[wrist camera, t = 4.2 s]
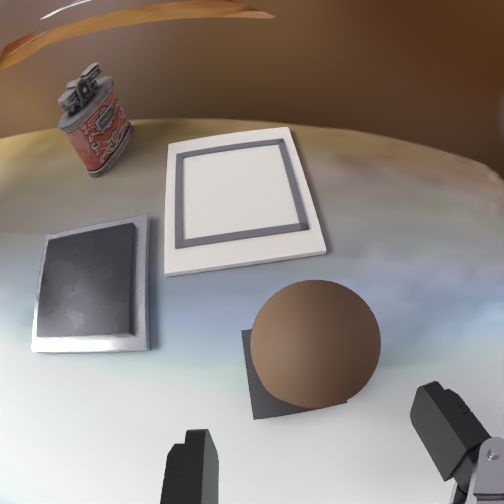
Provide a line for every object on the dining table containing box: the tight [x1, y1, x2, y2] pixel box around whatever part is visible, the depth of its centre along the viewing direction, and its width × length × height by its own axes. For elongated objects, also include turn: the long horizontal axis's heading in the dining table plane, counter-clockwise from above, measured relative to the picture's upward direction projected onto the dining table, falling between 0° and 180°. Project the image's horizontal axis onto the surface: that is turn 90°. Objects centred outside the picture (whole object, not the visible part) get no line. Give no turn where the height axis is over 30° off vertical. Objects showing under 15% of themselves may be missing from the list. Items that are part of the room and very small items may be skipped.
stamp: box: [242, 280, 381, 420], centre depth 14 cm, size 6×6×11 cm
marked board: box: [164, 127, 326, 277], centre depth 25 cm, size 12×14×1 cm
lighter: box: [58, 63, 134, 178], centre depth 25 cm, size 8×3×10 cm, turn 167°
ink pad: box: [32, 214, 150, 353], centre depth 22 cm, size 11×11×1 cm
